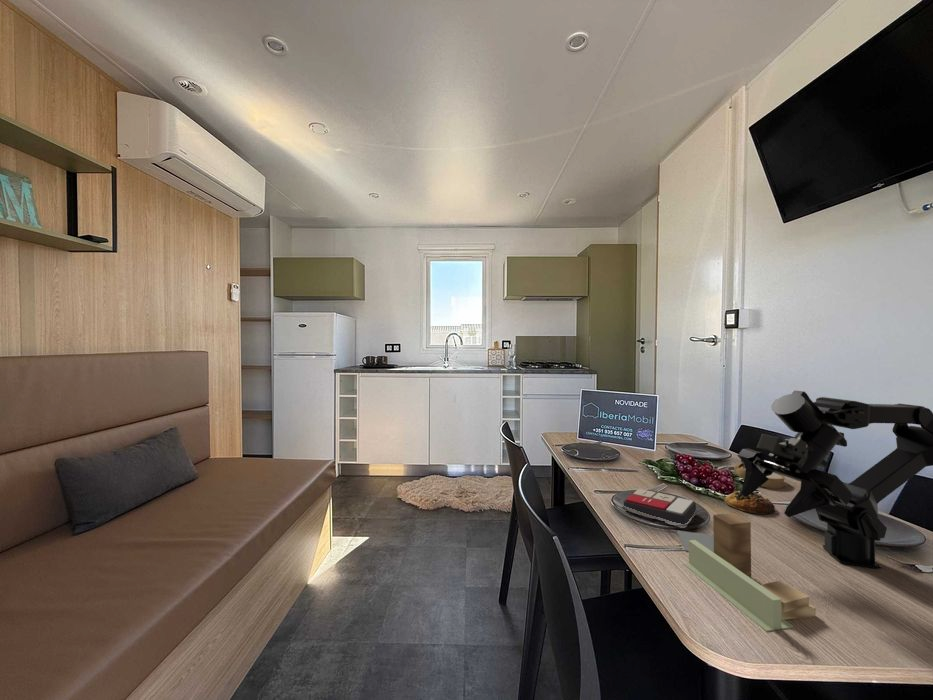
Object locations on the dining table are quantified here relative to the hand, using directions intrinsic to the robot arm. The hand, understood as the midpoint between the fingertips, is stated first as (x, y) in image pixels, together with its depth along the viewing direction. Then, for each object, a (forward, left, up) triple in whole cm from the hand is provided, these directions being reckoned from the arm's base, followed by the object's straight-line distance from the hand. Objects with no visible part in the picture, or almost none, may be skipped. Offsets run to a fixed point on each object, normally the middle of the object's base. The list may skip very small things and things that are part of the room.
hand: (763, 504), depth 73 cm
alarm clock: (-17, -55, -14) cm, 59 cm away
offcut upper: (+2, +13, -11) cm, 17 cm away
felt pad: (+9, -7, -13) cm, 17 cm away
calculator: (+16, -21, -14) cm, 30 cm away
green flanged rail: (+9, +10, -13) cm, 19 cm away
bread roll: (-8, -33, -14) cm, 36 cm away
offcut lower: (+2, +12, -13) cm, 18 cm away
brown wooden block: (+7, +3, -13) cm, 15 cm away
